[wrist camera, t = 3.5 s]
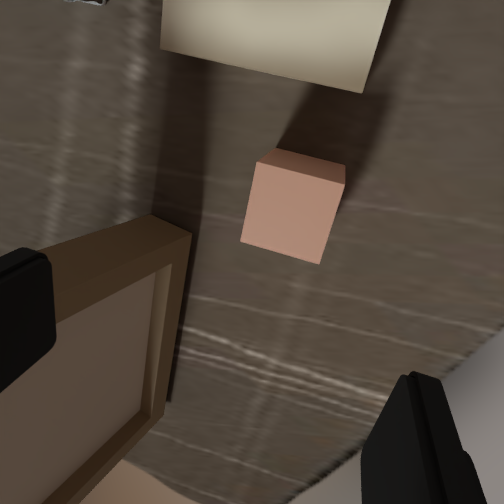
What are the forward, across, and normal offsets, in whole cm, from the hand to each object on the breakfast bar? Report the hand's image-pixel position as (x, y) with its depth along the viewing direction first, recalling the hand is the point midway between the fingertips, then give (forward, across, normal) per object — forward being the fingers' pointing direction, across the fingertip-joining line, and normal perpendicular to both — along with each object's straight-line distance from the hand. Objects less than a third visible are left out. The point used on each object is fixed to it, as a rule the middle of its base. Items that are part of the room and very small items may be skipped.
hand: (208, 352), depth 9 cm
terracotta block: (+19, 0, 0) cm, 19 cm away
